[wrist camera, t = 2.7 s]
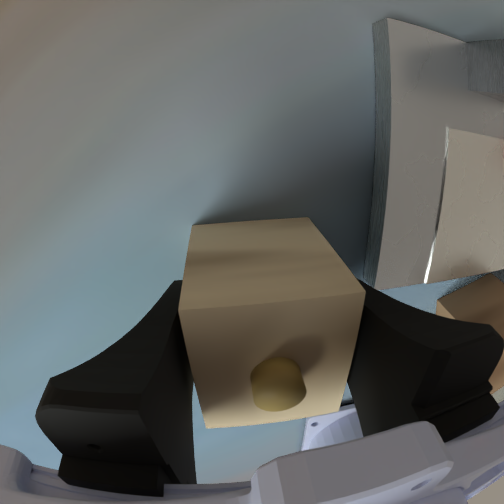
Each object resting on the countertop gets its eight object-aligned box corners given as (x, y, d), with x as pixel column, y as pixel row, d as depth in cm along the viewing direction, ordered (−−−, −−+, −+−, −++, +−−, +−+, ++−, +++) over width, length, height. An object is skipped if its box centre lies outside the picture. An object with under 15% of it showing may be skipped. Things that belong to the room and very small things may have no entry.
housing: (302, 318, 14) (345, 428, 9) (206, 328, 14) (206, 447, 8) (307, 216, 12) (379, 309, 7) (192, 224, 12) (175, 332, 6)
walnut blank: (479, 329, 17) (518, 374, 13) (430, 356, 17) (467, 410, 13) (489, 271, 15) (541, 316, 11) (436, 299, 15) (487, 355, 11)
